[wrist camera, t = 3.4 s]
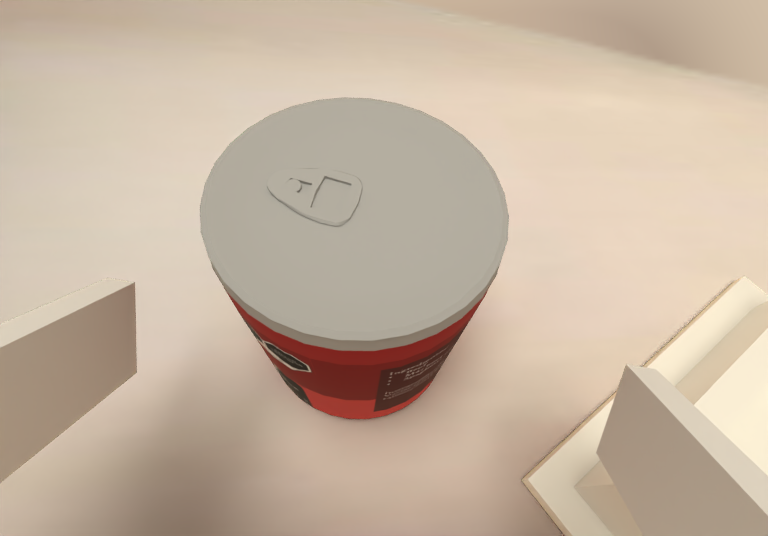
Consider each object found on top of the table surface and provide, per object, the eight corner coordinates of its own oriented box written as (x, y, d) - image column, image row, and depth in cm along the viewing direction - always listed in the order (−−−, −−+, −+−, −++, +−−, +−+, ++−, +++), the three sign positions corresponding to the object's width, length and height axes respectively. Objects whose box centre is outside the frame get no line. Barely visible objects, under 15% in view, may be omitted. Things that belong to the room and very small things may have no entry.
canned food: (283, 265, 22) (225, 87, 13) (437, 270, 23) (495, 99, 13) (262, 421, 19) (158, 338, 9) (446, 425, 19) (533, 347, 9)
